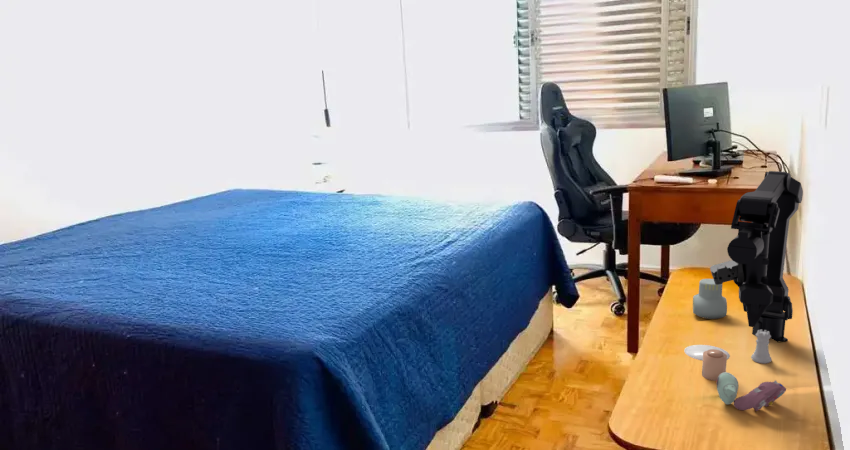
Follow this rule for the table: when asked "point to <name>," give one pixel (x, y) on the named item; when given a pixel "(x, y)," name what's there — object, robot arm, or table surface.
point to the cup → (713, 364)
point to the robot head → (727, 387)
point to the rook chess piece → (762, 347)
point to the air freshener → (709, 300)
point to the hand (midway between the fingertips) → (748, 318)
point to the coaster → (701, 351)
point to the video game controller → (760, 396)
